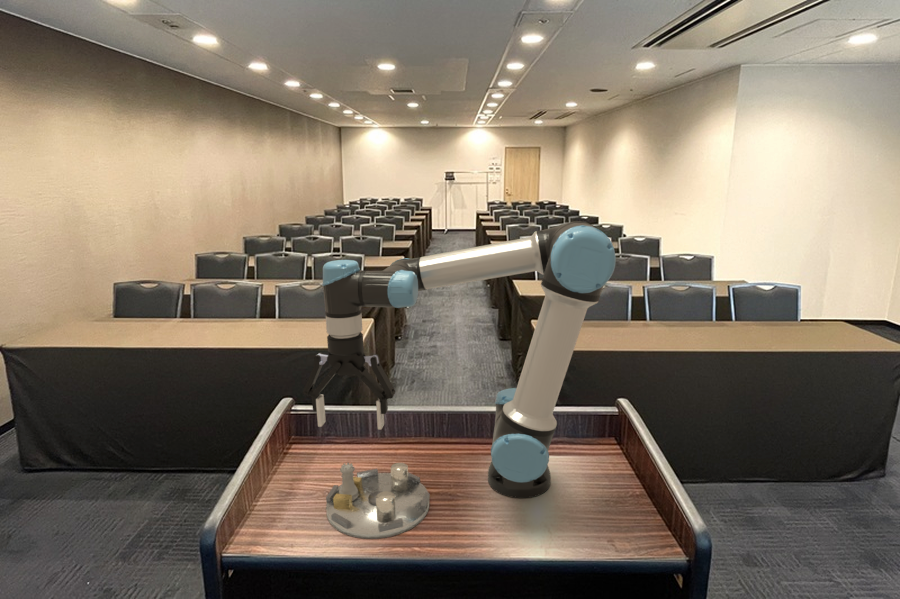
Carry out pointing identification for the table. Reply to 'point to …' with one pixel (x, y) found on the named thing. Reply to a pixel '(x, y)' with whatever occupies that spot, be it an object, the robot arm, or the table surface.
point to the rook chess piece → (348, 481)
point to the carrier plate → (369, 512)
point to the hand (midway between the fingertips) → (351, 425)
